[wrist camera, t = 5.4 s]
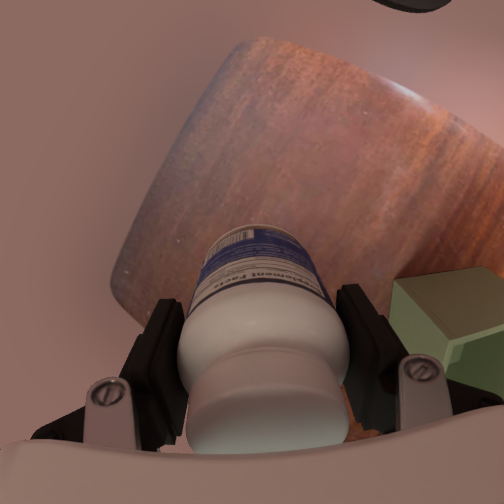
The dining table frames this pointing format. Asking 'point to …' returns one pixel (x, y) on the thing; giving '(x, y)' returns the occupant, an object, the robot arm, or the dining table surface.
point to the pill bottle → (262, 349)
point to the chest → (454, 323)
